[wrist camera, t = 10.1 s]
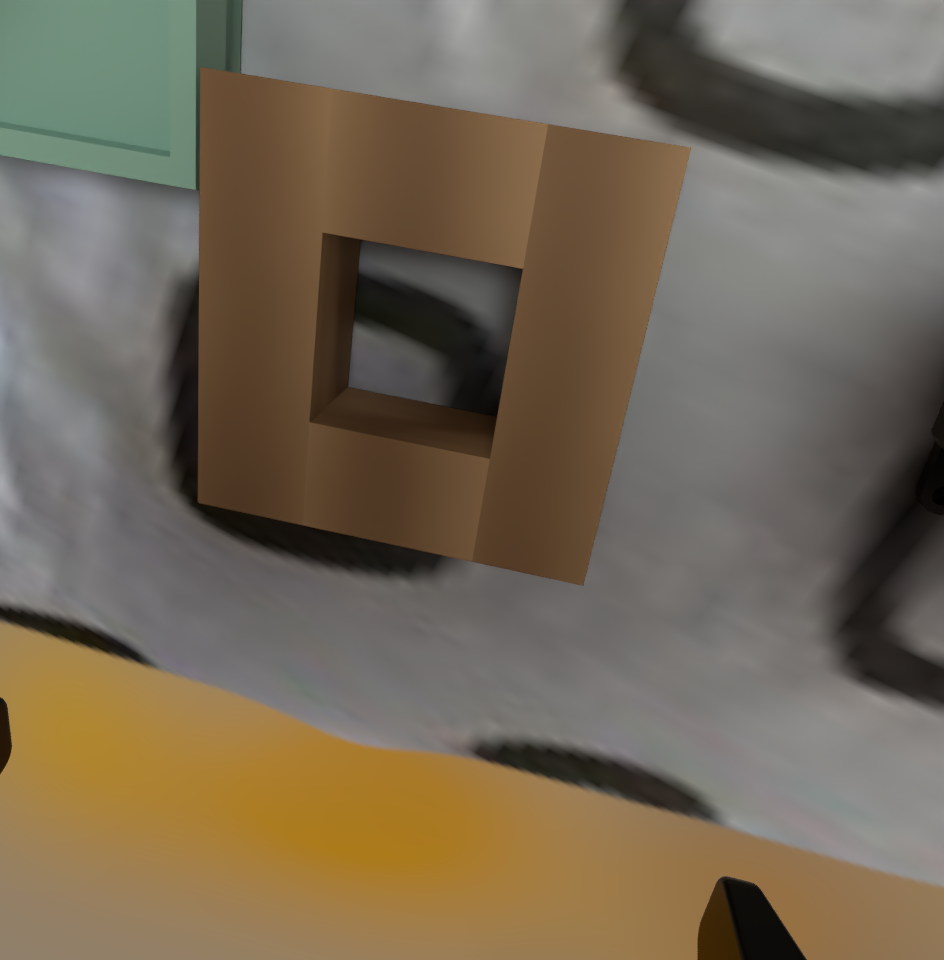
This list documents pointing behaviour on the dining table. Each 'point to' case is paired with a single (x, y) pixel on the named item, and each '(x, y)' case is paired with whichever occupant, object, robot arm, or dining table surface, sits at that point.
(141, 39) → the tray
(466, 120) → the block
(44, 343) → the dining table surface
